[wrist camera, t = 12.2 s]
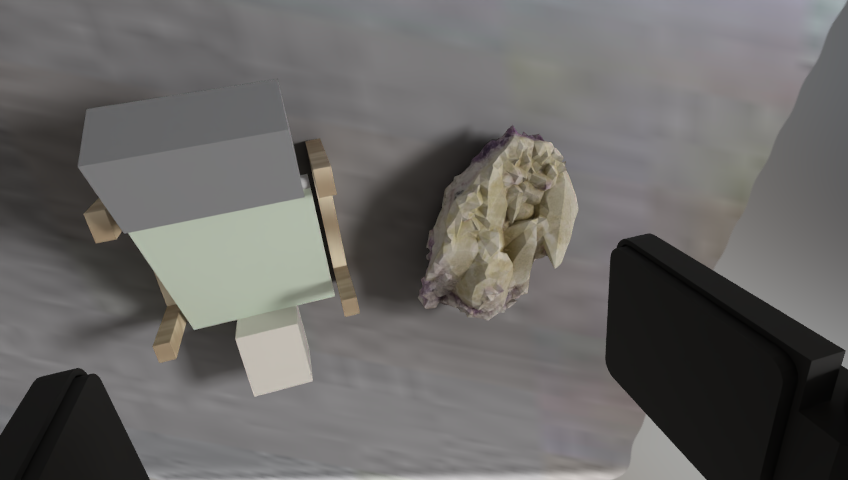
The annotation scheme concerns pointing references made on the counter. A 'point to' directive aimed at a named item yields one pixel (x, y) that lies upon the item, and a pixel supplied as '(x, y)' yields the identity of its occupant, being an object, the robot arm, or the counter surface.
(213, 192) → the trapdoor
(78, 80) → the counter surface
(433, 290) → the geode
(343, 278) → the frame
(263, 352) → the cube
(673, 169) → the counter surface
